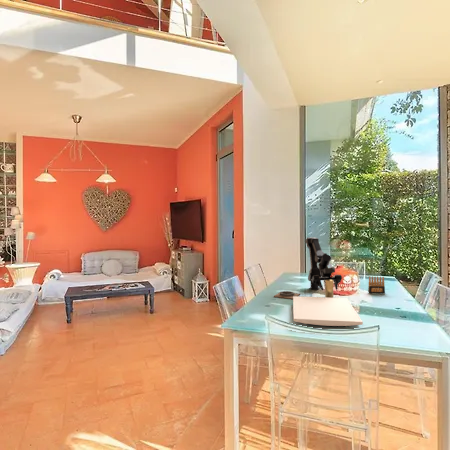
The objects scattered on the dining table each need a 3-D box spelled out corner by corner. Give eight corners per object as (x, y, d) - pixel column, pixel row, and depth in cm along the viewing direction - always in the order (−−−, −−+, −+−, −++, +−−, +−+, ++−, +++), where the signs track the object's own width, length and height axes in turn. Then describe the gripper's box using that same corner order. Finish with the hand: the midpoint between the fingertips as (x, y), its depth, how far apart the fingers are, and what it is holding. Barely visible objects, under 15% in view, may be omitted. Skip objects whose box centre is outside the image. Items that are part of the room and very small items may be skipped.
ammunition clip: (368, 293, 227) (368, 276, 227) (368, 292, 229) (368, 275, 229) (385, 293, 226) (385, 276, 225) (384, 293, 228) (384, 276, 227)
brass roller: (326, 298, 215) (326, 279, 214) (334, 299, 212) (334, 279, 212) (324, 300, 210) (324, 280, 210) (332, 301, 208) (332, 281, 208)
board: (293, 303, 205) (293, 296, 205) (346, 305, 199) (346, 298, 199) (293, 328, 161) (293, 318, 161) (362, 331, 155) (362, 321, 155)
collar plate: (280, 292, 233) (280, 289, 233) (300, 294, 226) (300, 291, 226) (273, 297, 221) (273, 293, 221) (293, 299, 214) (293, 296, 214)
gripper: (312, 263, 215) (318, 283, 204) (340, 262, 215) (347, 282, 204) (309, 273, 223) (314, 292, 212) (336, 272, 223) (342, 292, 212)
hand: (329, 289), depth 210 cm, fingers open, 9 cm apart
